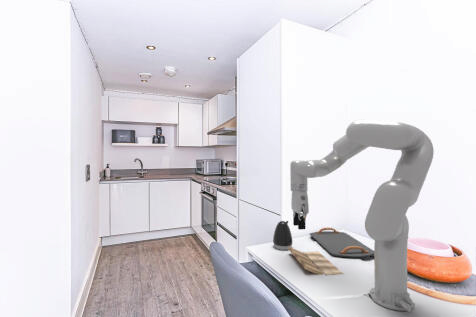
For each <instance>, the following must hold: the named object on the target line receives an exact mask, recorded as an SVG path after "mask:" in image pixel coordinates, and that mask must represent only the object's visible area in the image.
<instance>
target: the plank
mask: <svg viewBox="0 0 476 317" xmlns="http://www.w3.org/2000/svg"><path fill="white" fill-rule="evenodd" d="M288 249H289V250H288V251H289V252H290V253H291V254H292V255H293V257H294V258H295V259H296V260H297V261H298V263H299V264H301V266H302V267H303V268H304V269H305V270H306V271H308V272H311V273H313V274H315V275H324V273H323V272H322V271H321V270H320V269H319V268H318V267H317V266H316V265H315V264H314V263H313V262H312V261H311V260H310V259H309V258H308V257H307V256H306V255H305V254H304V253H303V252H304V251H300V250H298V249H295V248H293V247H292V246H291V247H289V248H288Z"/></svg>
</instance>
